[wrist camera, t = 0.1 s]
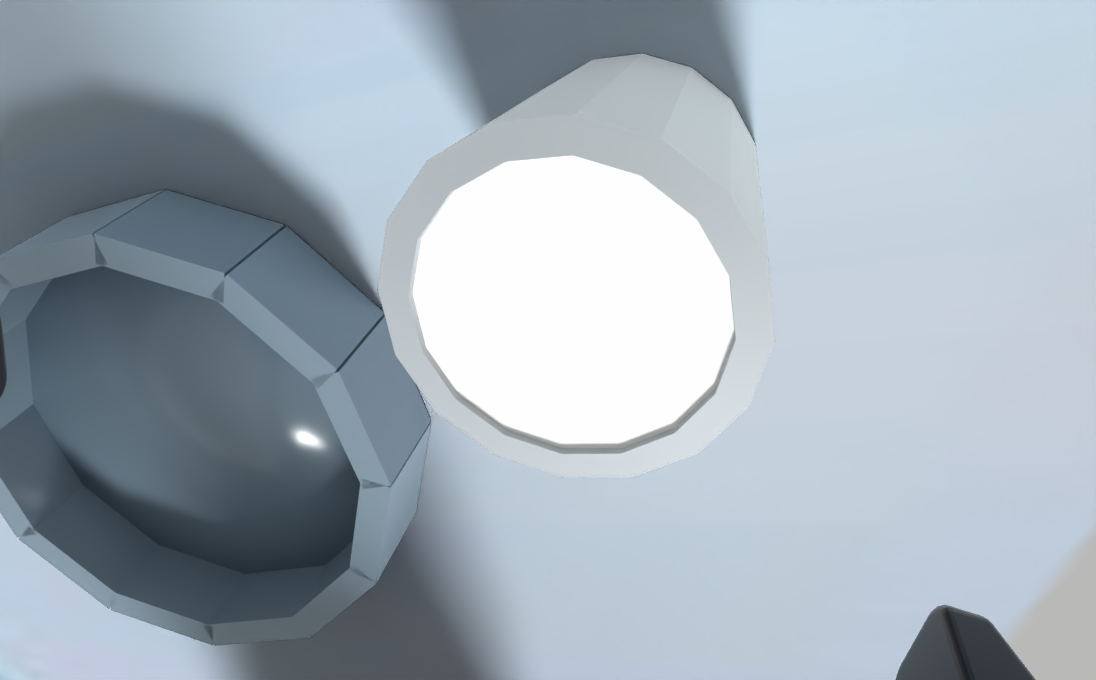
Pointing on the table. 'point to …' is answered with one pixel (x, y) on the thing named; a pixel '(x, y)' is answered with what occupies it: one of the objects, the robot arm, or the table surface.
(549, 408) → the shot glass
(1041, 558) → the table surface
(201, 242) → the bowl
